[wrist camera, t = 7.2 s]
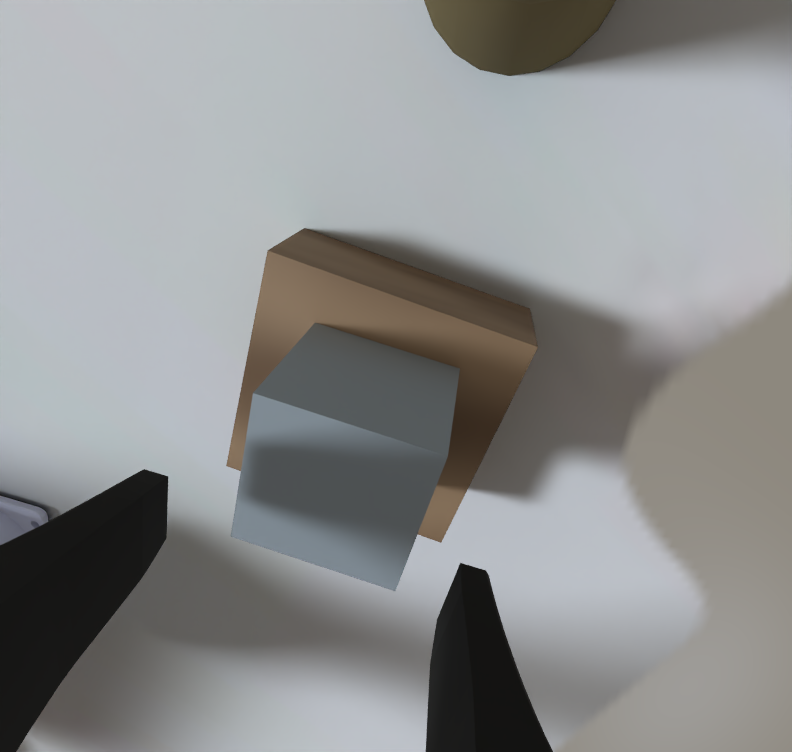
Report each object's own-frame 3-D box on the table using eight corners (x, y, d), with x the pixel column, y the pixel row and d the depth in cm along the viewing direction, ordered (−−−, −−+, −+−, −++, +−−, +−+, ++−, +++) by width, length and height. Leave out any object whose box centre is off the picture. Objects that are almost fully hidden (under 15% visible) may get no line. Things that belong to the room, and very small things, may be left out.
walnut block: (448, 479, 24) (441, 542, 21) (264, 414, 24) (226, 465, 21) (529, 305, 20) (537, 347, 16) (307, 226, 20) (267, 250, 16)
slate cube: (417, 483, 19) (395, 591, 15) (290, 441, 19) (230, 536, 15) (459, 368, 17) (447, 456, 13) (315, 322, 17) (253, 393, 13)
